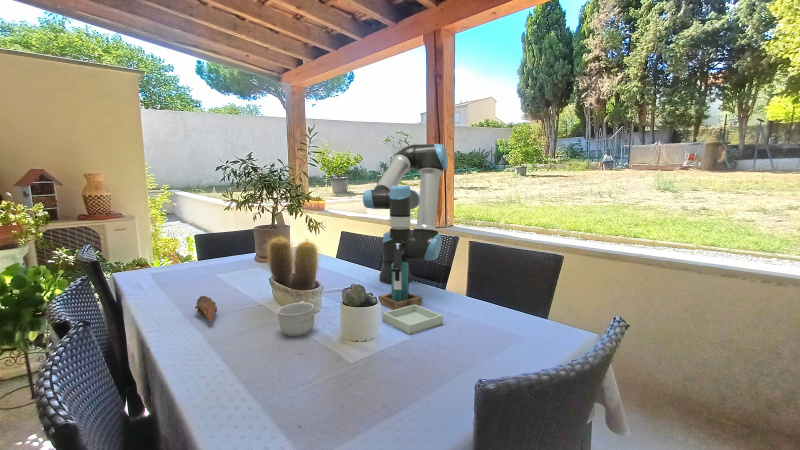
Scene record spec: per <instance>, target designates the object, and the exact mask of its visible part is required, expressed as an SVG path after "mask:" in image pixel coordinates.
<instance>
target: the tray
mask: <svg viewBox="0 0 800 450" xmlns="http://www.w3.org/2000/svg"><path fill="white" fill-rule="evenodd" d="M382 322H383V323H385V324H387V325H389V326H391V327H393V328H395V329H396V330H399V331H401V332H403V333H405V334H407V335H408V336H411V335H414V334H417V333H420V332H424V331H426V330H430V329H433V328H436V327H439V326H441V324H442V325H444V315H443V314H440V313H438V312H435V311H433V310H431V309H428V308H426V307H424V306H418V305H416V304H414V305H411V306H407V307H403V308H399V309H395V310H388V311H385V312H382Z"/></svg>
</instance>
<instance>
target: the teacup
mask: <svg viewBox="0 0 800 450" xmlns="http://www.w3.org/2000/svg"><path fill="white" fill-rule="evenodd" d="M277 314H278V324H279V328H280V331H281V332H282V333H284V334H286V335H287V336H290V337H298V336H303V335H305V334H308V333H309V332H310V330H312V329H313V327H314V325H315V305H314V304H313V303H310V302H305V301H304V300H301V301H299V302H295V303H294V302H293V303H288V304H285V305H283V306H281V307H279V308H278V309H277Z"/></svg>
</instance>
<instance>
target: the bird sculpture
mask: <svg viewBox="0 0 800 450" xmlns="http://www.w3.org/2000/svg"><path fill="white" fill-rule="evenodd" d="M196 301H197V302H196V305H195V307H194V309H197V314H199V315H200V316H206V318H207V320H208V321H209V322H212V321H213V320H214V319H215V313H217V312H218V306H217V305H216V302H215V301H214V300H212V298H210V297H208V296H206V295H200V296H199V297H198V299H197V300H196Z"/></svg>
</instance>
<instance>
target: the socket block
mask: <svg viewBox="0 0 800 450" xmlns="http://www.w3.org/2000/svg"><path fill="white" fill-rule="evenodd" d="M391 298H392V292H390V293H385V294H381V295H378V302H379V301H380V303H381V306H383V307H385V308H388V309H390V311H392V310H395V309H399V308H403V307H407V306H411V305H414V304H416V305H418V306H420V305H423V304H422V300H423V299H422V297H420V296H418V295H416V294H413V293H410V292H409V296H408V300H404V301H400V302H397V301H394V300H392V299H391Z"/></svg>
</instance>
